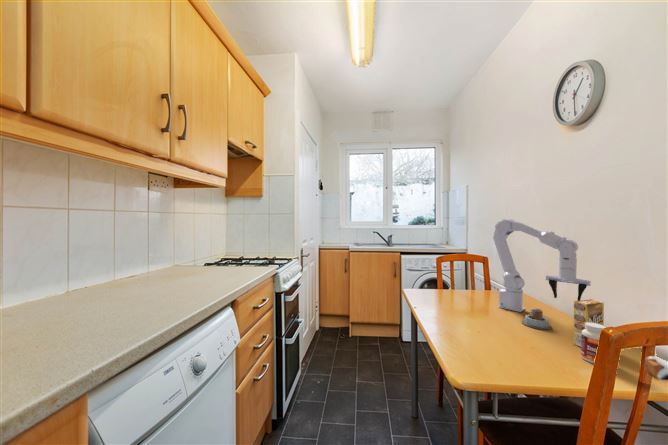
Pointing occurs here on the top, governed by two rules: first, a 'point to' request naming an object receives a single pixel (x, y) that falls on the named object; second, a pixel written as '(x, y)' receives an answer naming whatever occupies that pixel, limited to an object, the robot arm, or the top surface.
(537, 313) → the walnut peg
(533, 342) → the top surface
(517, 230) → the robot arm
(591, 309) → the candy box
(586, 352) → the pill bottle
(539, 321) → the collar socket
